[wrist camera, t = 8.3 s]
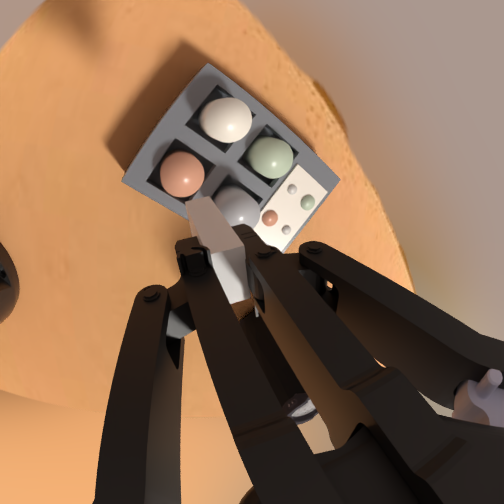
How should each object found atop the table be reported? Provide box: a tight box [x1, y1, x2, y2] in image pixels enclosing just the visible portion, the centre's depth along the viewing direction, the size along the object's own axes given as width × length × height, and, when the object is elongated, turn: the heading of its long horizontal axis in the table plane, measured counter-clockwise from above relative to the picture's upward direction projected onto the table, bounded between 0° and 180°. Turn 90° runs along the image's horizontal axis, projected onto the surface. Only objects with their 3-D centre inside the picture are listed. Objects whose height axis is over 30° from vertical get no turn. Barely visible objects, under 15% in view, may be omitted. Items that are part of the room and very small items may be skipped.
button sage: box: [243, 135, 293, 179], centre depth 31 cm, size 4×4×4 cm
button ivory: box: [198, 98, 252, 143], centre depth 25 cm, size 4×4×4 cm
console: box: [121, 63, 340, 253], centre depth 32 cm, size 22×15×5 cm
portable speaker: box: [239, 310, 318, 425], centre depth 40 cm, size 9×9×20 cm
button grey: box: [211, 184, 260, 229], centre depth 31 cm, size 4×4×4 cm
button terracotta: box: [160, 149, 204, 197], centre depth 28 cm, size 4×4×4 cm
